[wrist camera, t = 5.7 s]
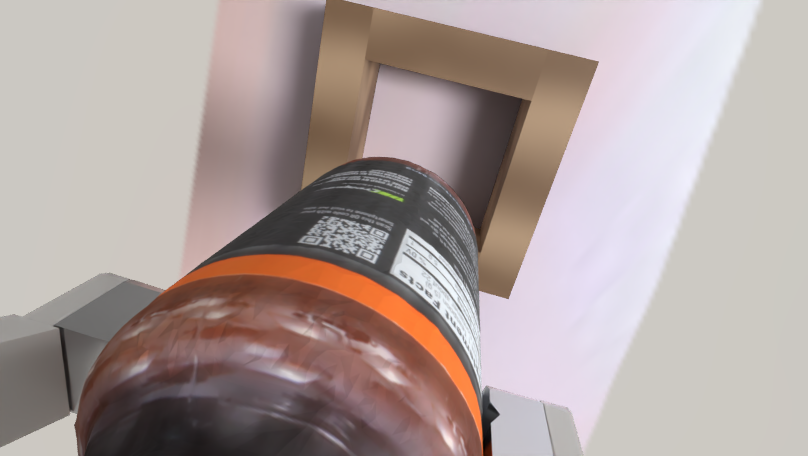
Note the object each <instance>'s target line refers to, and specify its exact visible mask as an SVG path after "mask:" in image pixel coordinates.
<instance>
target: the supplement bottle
mask: <svg viewBox="0 0 808 456" xmlns="http://www.w3.org/2000/svg"><path fill="white" fill-rule="evenodd" d="M478 279H479V277H478V247H477V241H476V235H475V229H474V227H473V224H472V221H471V218H470V215H469V213H468V211H467V209H466V207H465V205H464V204H463V202H462V201H461V199H460V198H459V197H458V195H457V194H456V193H455V192H454V190H453V189H452V188H451V187H450V186H449V185H448V184H447V183H446V182H445V181H444V180H442V179H441V178H440V177H439V176H437V175H436V174H435V173H433V172H431V171H429V170H426V169H425V168H423V167H421V166H419V165H416V164H414V163H411V162H409V161H405V160H400V159H396V158H389V157H368V158H362V159H356V160H352V161H350V162H347V163H345V164H342V165H340V166H338V167H336V168H334V169H332V170H330V171H329V172H327V173H325V174H323V175H322V176H320V177H319V178H318V179H316V180H315V181H314V182H312V183H311V184H309V185H308V186H306V187H305V188H304V189H302V190H301V191H300V192H298V193H297V194H296V195H294V196H293V197H292V198H291V199H289V200H288V201H286V202H285V203H284V204H282V205H281V206H280V207H278V208H277V209H276V210H274V211H273V212H271V213H270V214H269V215H268V216H266V217H265V218H263V219H262V220H260V221H259V222H258V223H256V224H255V225H254V226H252V227H251V228H249V229H248V230H247V231H245V232H244V233H243V234H241V235H240V236H238V237H237V238H236V239H234V240H233V241H232V242H230V243H229V244H227V245H226V246H225V247H223V248H222V249H221V250H219V251H218V252H217V253H215V254H214V255H212V256H211V257H210V258H208V259H207V260H205V261H204V262H203V263H201V264H200V265H199V266H197V267H196V268H195V269H194V270H192V271H191V272H190V273H188V274H187V275H186V276H184V277H183V278H182V279H180V280H179V281H178V282H176V283H175V284H174V285H172V286H171V287H170V288H168V289H167V290H165V291H164V292H163V293H161V294H160V295H159V296H158V297H157V298H156V299H155V300H153V301H152V302H151V303H150V304H149V305H148V306H147V307H145V308H144V309H143V310H141V311H140V312H139V313H138V314H136V315H135V316H134V317H133V318H132V319H130V320H129V321H128V322H127V323H126V324H125V325H124V326H123V327H121V329H120V330H119V331H118V332H117V333H116V334H115V335H114V336H113V337H112V339H111V340H110V341H109V342H108V343H107V345H106V346H105V348H104V349H103V350H102V352H101V353H100V355H99V356H98V358H97V360H96V361H95V363H94V364H93V366H92V368H91V369H90V371H89V373H88V375H87V378H86V380H85V382H84V386H83V389H82V393H81V396H80V401H79V407H78V413H77V419H76V422H75V425H74V426H75V430H76V437H77V446H78V447H77V448H78V456H483V439H482V418H483V412H482V383H481V350H480V318H479V285H478V284H479V280H478Z"/></svg>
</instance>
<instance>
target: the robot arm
mask: <svg viewBox="0 0 808 456" xmlns="http://www.w3.org/2000/svg"><path fill="white" fill-rule="evenodd" d="M164 291H165V290H163V289H160V288H157V287H154V286H151V285H148V284H144V283H141V282H138V281H135V280H130V279H127V278H124V277H121V276H118V275H115V274H112V273H105V274H99V275H97V276H95V277H94V278H92V279H90V280H88V281H86V282H85V283H83V284H81V285H79V286H77V287H75V288H74V289H72V290H70V291H68V292H66V293H65V294H63V295H61V296H59V297H57V298H55V299H54V300H52V301H50V302H48V303H47V304H45V305H43V306H41V307H39V308H37V309H36V310H34V311H32V312H30V313H28V314H27V315H25V316H23V317H21V316H18V315H15V314H13V315H9V316H4V317H0V447H2V446H4V445H6V444H9V443H11V442H13V441H15V440H17V439H19V438H21V437H23V436H26V435H28V434H30V433H32V432H34V431H36V430H39V429H41V428H43V427H45V426H47V425H49V424H51V423H54V422H55V421H58V420H60V419H62V418H64V417H66V416H68V415H70V412H73V413H76V414H77V413H78V407H79V401H80V396H81V393H82V389H83V386H84V382H85V380H86V378H87V375H88V373H89V371H90V369H91V368H92V366H93V364H94V363H95V361H96V360H97V358H98V356H99V355H100V353H101V352H102V350H103V349H104V348H105V346H106V345H107V343H108V342H109V341H110V340H111V339H112V337H113V336H114V335H115V334H116V333H117V332H118V331H119V330H120V329H121V327H123V326H124V325H125V324H126V323H127V322H128V321H129V320H130V319H132V318H133V317H134V316H135V315H136V314H138V313H139V312H140V311H141V310H143V309H144V308H145V307H147V306H148V305H149V304H150V303H151V302H152V301H153V300H155V299H156V298H157V297H158V296H159V295H160V294H161V293H163V292H164ZM482 412H483V418H482V439H483V456H584V455H583V451H582V448H581V444H580V441H579V437H578V434H577V430H576V427H575V423H574V419H573V416H572V413H571V411H570V410H569V409H568V408H566V407H563V406H559V405H555V404H552V403H548V402H544V401H541V400H540V401H538V400H535V399H531V398H528V397H524V396H521V395H518V394H514V393H511V392H507V391H504V390H500V389H497V388H493V387H490V386H486V387H485V388H484V390H483V391H482Z"/></svg>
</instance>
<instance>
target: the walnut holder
mask: <svg viewBox="0 0 808 456" xmlns="http://www.w3.org/2000/svg"><path fill="white" fill-rule="evenodd" d="M380 63H381V64H385V65H389V66H393V67H397V68H401V69H405V70H409V71H413V72H417V73H421V74H425V75H429V76H433V77H437V78H441V79H445V80H449V81H453V82H457V83H461V84H465V85H469V86H473V87H477V88H481V89H485V90H489V91H493V92H497V93H501V94H505V95H509V96H513V97H517V98H521V99H522V102H521V105H520V108H519V111H518V114H517V117H516V120H515V123H514V126H513V130H512V133H511V136H510V139H509V142H508V145H507V148H506V151H505V154H504V157H503V160H502V163H501V166H500V170H499V173H498V176H497V179H496V182H495V185H494V188H493V191H492V194H491V197H490V200H489V203H488V206H487V210H486V213H485V216H484V219H483V222H482V225H481V228H480V229H479V228H475V227H474V229H475V235H476V241H477V247H478V277H479V279H478V280H479V284H478V285H479V291H482V292H485V293H489V294H492V295H496V296H500V297H503V298H507V299H509V296H510V293H511V291H512V288H513V286H514V283H515V280H516V278H517V275H518V272H519V270H520V267H521V265H522V262H523V259H524V257H525V254H526V251H527V249H528V246H529V244H530V241H531V238H532V236H533V233H534V231H535V228H536V225H537V223H538V220H539V217H540V215H541V212H542V210H543V207H544V204H545V202H546V199H547V196H548V194H549V191H550V189H551V186H552V183H553V181H554V178H555V176H556V173H557V170H558V168H559V165H560V162H561V160H562V157H563V155H564V152H565V149H566V147H567V144H568V141H569V139H570V136H571V134H572V131H573V128H574V126H575V123H576V121H577V118H578V115H579V113H580V110H581V107H582V105H583V102H584V100H585V97H586V94H587V92H588V89H589V86H590V84H591V81H592V79H593V76H594V73H595V71H596V68H597V66H598V63H599V62H598V61H594V60H590V59H586V58H581V57H577V56H573V55H569V54H565V53H561V52H556V51H552V50H548V49H544V48H540V47H536V46H531V45H527V44H523V43H519V42H515V41H511V40H506V39H502V38H498V37H494V36H490V35H486V34H482V33H477V32H473V31H469V30H465V29H461V28H457V27H452V26H448V25H444V24H440V23H436V22H432V21H427V20H423V19H419V18H415V17H411V16H407V15H402V14H398V13H394V12H390V11H386V10H382V9H378V8H373V7H369V6H365V5H361V4H357V3H353V2H348V1H344V0H326V7H325V14H324V22H323V29H322V37H321V44H320V52H319V59H318V67H317V74H316V82H315V89H314V97H313V104H312V112H311V119H310V127H309V134H308V142H307V149H306V157H305V164H304V172H303V179H302V187H301V190H302V189H304V188H305V187H306V186H308V185H309V184H311V183H312V182H314V181H315V180H316V179H318V178H319V177H320V176H322V175H323V174H325V173H327V172H329V171H330V170H332V169H334V168H336V167H338V166H340V165H342V164H345V163H347V162H350V161H352V160H356V159H362V157H363V151H364V146H365V141H366V135H367V130H368V125H369V119H370V114H371V109H372V103H373V98H374V93H375V87H376V82H377V77H378V72H379V66H380Z"/></svg>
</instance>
